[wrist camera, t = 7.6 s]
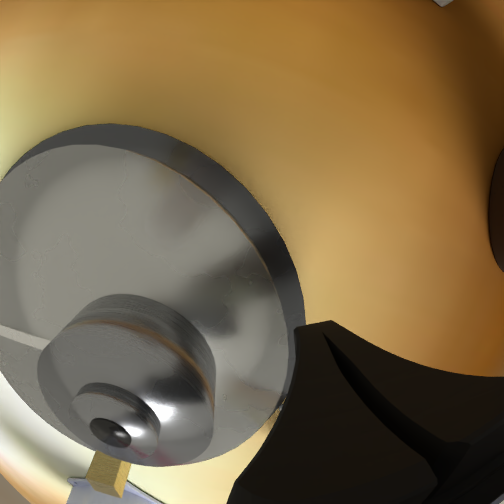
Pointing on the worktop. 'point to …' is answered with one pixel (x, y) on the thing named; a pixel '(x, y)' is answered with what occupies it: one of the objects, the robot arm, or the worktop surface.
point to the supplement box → (442, 2)
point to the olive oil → (497, 212)
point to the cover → (132, 381)
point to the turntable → (135, 279)
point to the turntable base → (221, 188)
